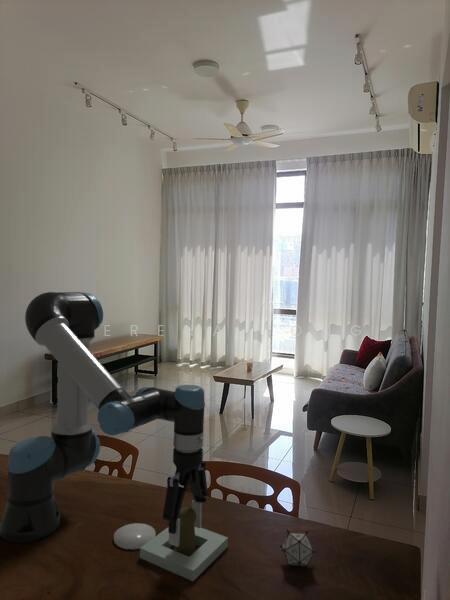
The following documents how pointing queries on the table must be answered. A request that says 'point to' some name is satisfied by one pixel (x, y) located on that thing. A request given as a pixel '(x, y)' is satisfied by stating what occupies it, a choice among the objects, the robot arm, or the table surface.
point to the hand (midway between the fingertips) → (185, 534)
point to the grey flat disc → (133, 536)
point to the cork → (186, 532)
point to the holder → (178, 562)
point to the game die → (297, 549)
